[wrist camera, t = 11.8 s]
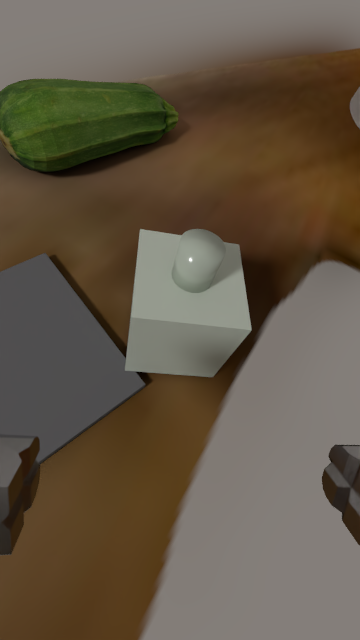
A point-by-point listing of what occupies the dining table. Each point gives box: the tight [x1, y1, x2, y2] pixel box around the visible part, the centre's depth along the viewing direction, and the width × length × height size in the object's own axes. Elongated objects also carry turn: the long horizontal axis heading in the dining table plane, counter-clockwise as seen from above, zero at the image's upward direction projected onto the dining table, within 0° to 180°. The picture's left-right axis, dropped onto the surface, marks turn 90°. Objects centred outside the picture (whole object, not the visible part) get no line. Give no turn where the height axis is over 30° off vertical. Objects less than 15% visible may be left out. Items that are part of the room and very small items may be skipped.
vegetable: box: [0, 79, 178, 172], centre depth 30 cm, size 7×7×20 cm
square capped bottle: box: [125, 229, 252, 377], centre depth 19 cm, size 6×6×10 cm
